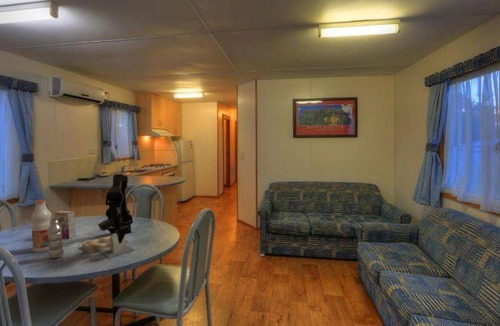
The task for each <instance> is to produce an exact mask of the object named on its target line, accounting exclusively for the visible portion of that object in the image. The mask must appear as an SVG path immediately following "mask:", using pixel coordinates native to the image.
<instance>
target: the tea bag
mask: <svg viewBox="0 0 500 326" xmlns="http://www.w3.org/2000/svg"><path fill="white" fill-rule="evenodd" d="M110 236H111V239H110V246H111V248H110V249H111V252H113V253H115V252H119V251H122V250H125V249H126V245H127V243H126V238H127V237H126V235H125V236H124V238H123V240H122V243H120V244H119V241H118V236H117V234H116V233H113V234H111V235H110Z"/></svg>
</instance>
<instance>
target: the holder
mask: <svg viewBox="0 0 500 326" xmlns="http://www.w3.org/2000/svg"><path fill="white" fill-rule="evenodd" d="M125 238H126V244H128V243H129V239H128V237H125ZM110 239H111V235H107V236H104V237H101V238H97V239H93V240H89V241H85V242H82V243H81V247H82V248H83V250H86V251H88V253H91V254H95V253H98V252H101V251H104V250H108V249H111V246H110Z"/></svg>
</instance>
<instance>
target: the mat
mask: <svg viewBox="0 0 500 326" xmlns="http://www.w3.org/2000/svg"><path fill="white" fill-rule="evenodd" d="M134 251H136V249H135V248H133V247H131V246H129V245H127V244H126V249H125V250H122V251H119V252H115V253H113V252H111V248H109V249H106V250H102V251H99V254H101V255H103V256H104V257H107V258H108V259H111V258H114V257H119V256H121V255H124V254H127V253H130V252H134Z"/></svg>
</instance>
